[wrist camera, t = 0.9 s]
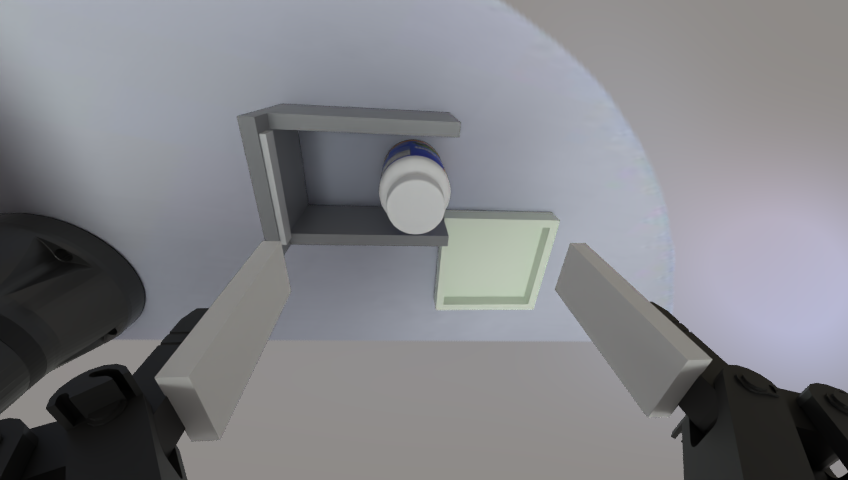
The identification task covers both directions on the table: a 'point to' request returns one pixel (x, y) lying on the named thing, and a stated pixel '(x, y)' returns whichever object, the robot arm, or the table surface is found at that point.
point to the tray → (493, 259)
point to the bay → (285, 183)
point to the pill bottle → (414, 187)
